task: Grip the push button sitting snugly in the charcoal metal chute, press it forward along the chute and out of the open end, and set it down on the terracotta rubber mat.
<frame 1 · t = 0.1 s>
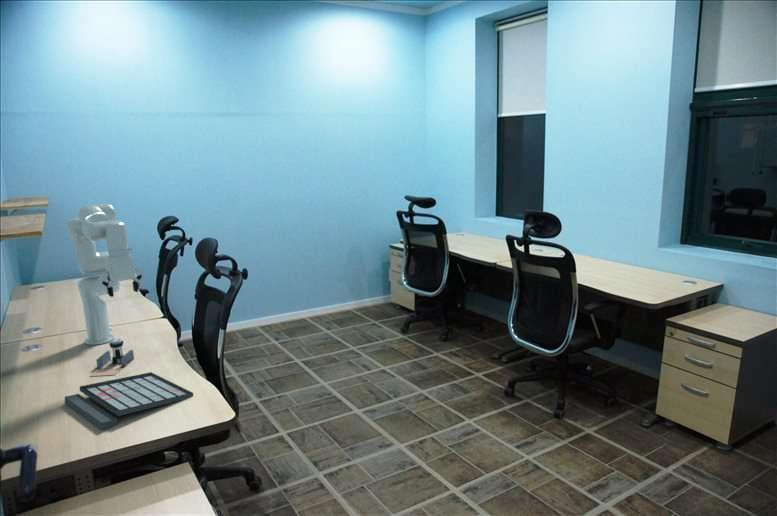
hand: (123, 293, 220), 31 cm above the table, tool pointing down, fingers open, 9 cm apart
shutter: (129, 401, 193), on the table
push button: (117, 363, 229), on the table
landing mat: (106, 372, 218), on the table
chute: (116, 363, 228), on the table
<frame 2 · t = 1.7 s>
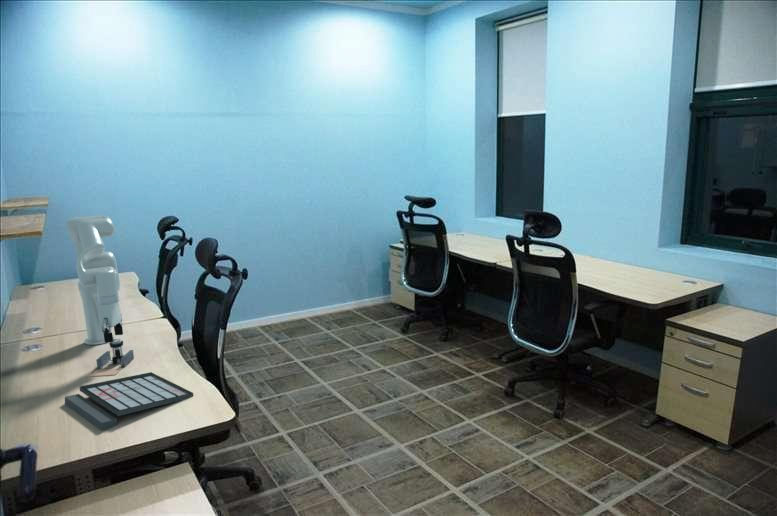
hand: (114, 338, 226), 11 cm above the table, tool pointing down, fingers open, 9 cm apart
nothing on the table moved.
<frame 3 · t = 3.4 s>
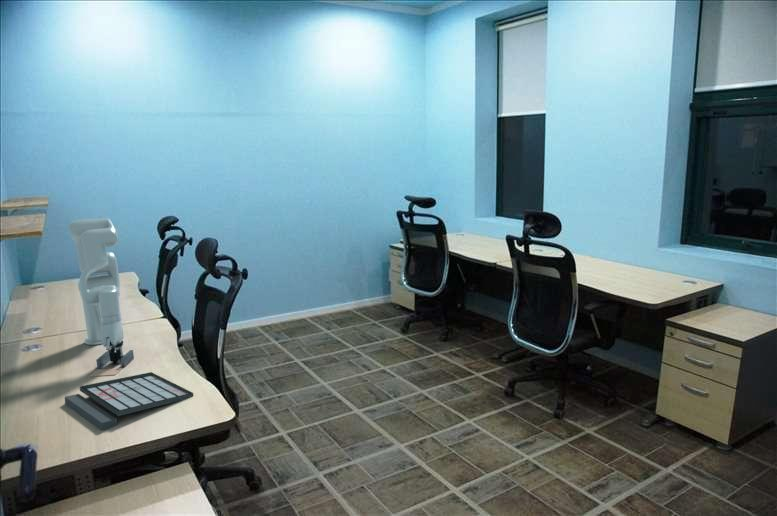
hand: (116, 358, 228), 2 cm above the table, tool pointing down, fingers closed on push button, 3 cm apart
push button: (117, 363, 229), on the table, touching gripper
everything else where it was.
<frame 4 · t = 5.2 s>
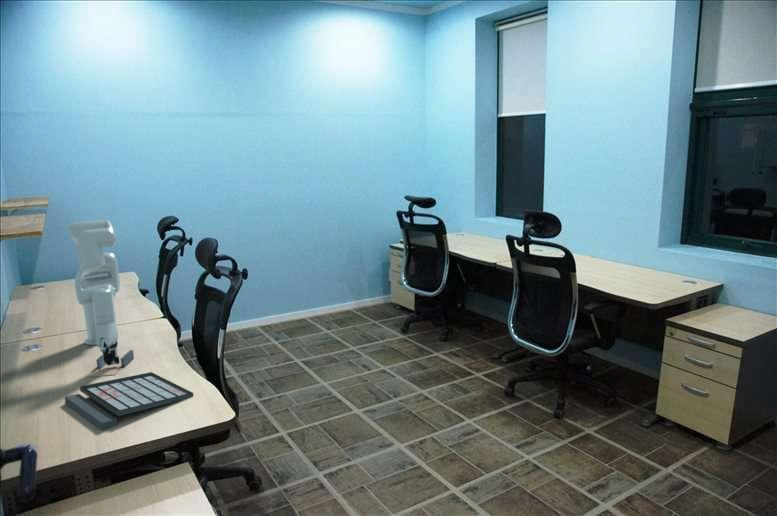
hand: (111, 360, 223), 3 cm above the table, tool pointing down, fingers closed on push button, 3 cm apart
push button: (111, 364, 223), point 1 cm above the table, touching gripper
everything else where it was.
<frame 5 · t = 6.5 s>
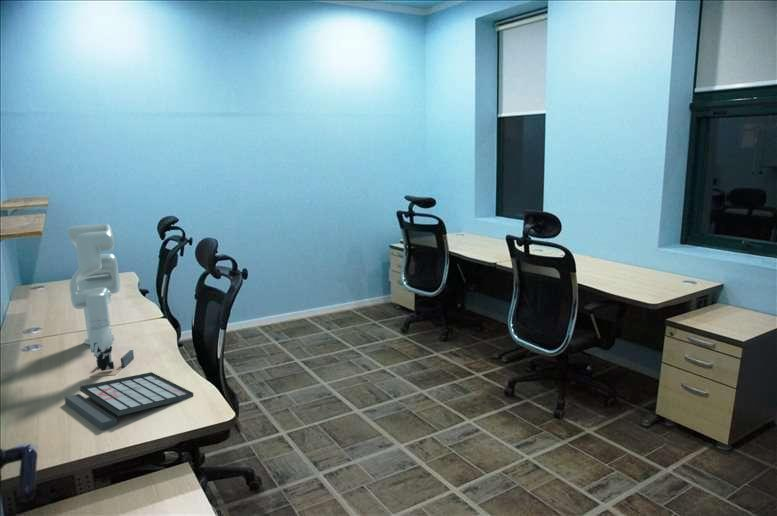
hand: (105, 365, 218), 3 cm above the table, tool pointing down, fingers closed on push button, 3 cm apart
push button: (105, 369, 218), point 1 cm above the table, touching gripper
everything else where it was.
when the fingers open (3 cm above the table, at t = 7.5 s): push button moves 1 cm, resting on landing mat.
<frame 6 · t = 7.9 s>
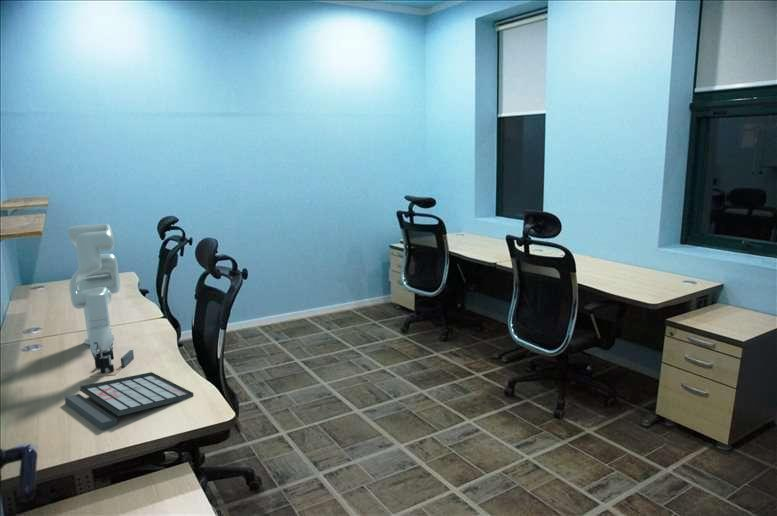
hand: (105, 363, 218), 4 cm above the table, tool pointing down, fingers open, 8 cm apart
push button: (105, 372, 218), resting on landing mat
everything else where it was.
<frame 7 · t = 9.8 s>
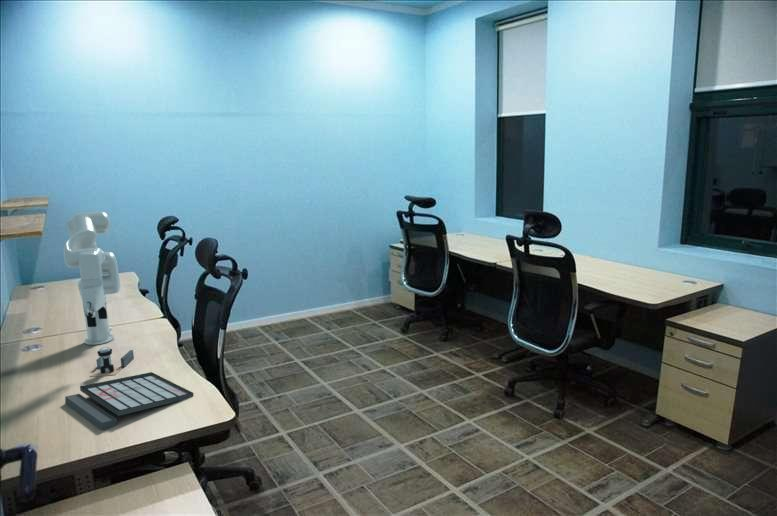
hand: (97, 322, 218), 20 cm above the table, tool pointing down, fingers open, 9 cm apart
nothing on the table moved.
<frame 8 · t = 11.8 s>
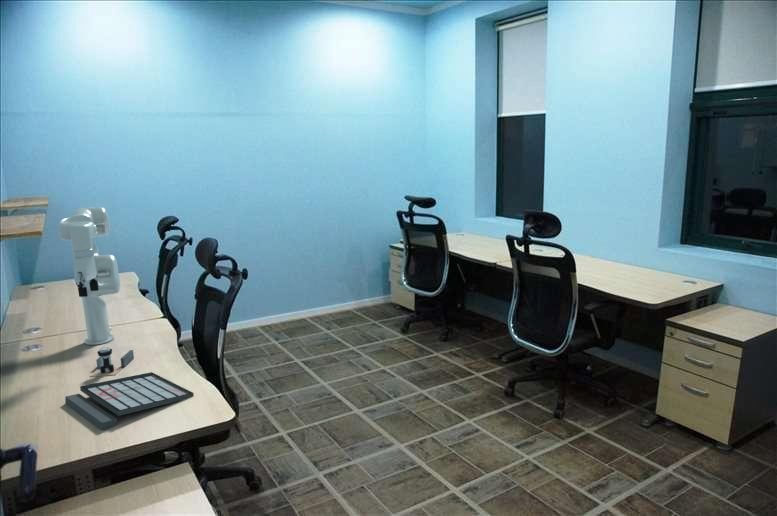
hand: (89, 293, 225), 30 cm above the table, tool pointing down, fingers open, 9 cm apart
nothing on the table moved.
at the end: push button inside the target area (0.2 cm from its centre), on the table; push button tilted 0°; the gripper is holding nothing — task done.
